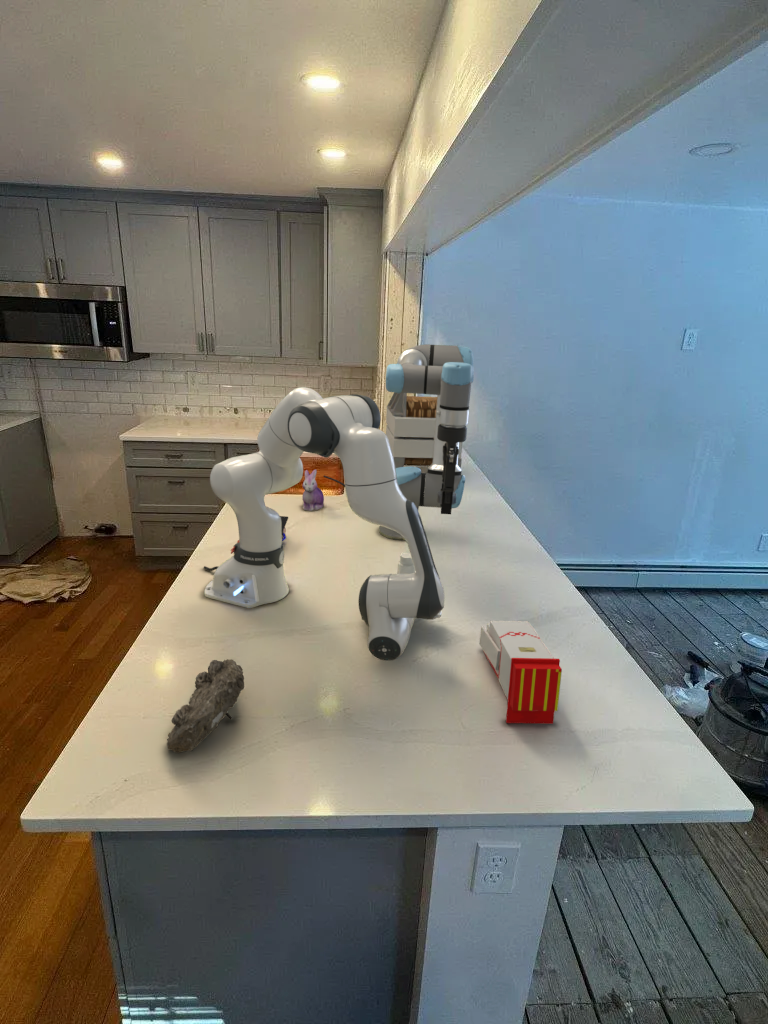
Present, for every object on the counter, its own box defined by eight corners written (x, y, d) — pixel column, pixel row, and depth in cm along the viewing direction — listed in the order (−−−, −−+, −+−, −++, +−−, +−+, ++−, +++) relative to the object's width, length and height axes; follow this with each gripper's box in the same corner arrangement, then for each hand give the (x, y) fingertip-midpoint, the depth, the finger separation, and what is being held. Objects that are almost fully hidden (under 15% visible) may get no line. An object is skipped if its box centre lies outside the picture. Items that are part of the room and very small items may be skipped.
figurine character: (283, 556, 181) (289, 533, 194) (282, 535, 178) (288, 514, 191) (262, 555, 181) (269, 533, 194) (260, 534, 177) (268, 513, 191)
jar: (415, 609, 150) (419, 554, 145) (407, 617, 146) (411, 560, 141) (400, 605, 152) (403, 550, 147) (392, 612, 148) (395, 556, 143)
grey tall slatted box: (382, 463, 289) (386, 382, 275) (445, 464, 293) (451, 384, 279) (390, 482, 257) (394, 392, 243) (460, 483, 261) (468, 394, 247)
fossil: (192, 660, 117) (244, 628, 112) (224, 691, 120) (276, 661, 115) (142, 746, 98) (202, 712, 93) (182, 779, 101) (242, 748, 96)
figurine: (306, 512, 216) (305, 474, 210) (297, 504, 224) (296, 467, 219) (329, 509, 220) (329, 472, 215) (319, 501, 228) (319, 465, 223)
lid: (433, 502, 152) (433, 494, 151) (441, 497, 156) (442, 489, 155) (451, 506, 149) (451, 497, 148) (458, 501, 154) (459, 492, 153)
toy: (526, 605, 135) (570, 665, 105) (521, 658, 137) (563, 730, 108) (475, 604, 134) (506, 664, 105) (472, 657, 137) (500, 729, 108)
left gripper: (441, 607, 132) (446, 581, 145) (356, 596, 136) (368, 571, 148) (439, 630, 134) (444, 603, 147) (355, 619, 138) (367, 593, 151)
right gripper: (437, 417, 154) (431, 498, 162) (438, 431, 137) (432, 521, 145) (465, 418, 153) (457, 499, 162) (470, 433, 137) (461, 523, 145)
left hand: (405, 587), depth 148 cm, fingers closed on jar, 4 cm apart
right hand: (445, 509), depth 153 cm, fingers closed on lid, 5 cm apart
